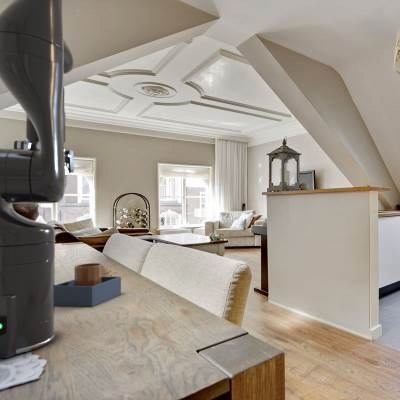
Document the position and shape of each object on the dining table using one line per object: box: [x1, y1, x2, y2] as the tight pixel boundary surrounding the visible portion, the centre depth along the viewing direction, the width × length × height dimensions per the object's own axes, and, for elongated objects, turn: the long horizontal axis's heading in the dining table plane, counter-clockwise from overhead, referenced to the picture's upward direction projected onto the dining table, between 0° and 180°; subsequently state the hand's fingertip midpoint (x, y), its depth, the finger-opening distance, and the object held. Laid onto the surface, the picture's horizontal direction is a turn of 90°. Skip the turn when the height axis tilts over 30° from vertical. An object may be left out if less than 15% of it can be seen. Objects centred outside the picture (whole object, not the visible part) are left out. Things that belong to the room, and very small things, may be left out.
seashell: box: [101, 265, 118, 277], centre depth 100 cm, size 8×6×8 cm
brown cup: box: [74, 262, 103, 286], centre depth 79 cm, size 6×6×8 cm
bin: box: [54, 276, 122, 307], centre depth 78 cm, size 10×10×5 cm
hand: (45, 187), depth 77 cm, fingers open, 8 cm apart
